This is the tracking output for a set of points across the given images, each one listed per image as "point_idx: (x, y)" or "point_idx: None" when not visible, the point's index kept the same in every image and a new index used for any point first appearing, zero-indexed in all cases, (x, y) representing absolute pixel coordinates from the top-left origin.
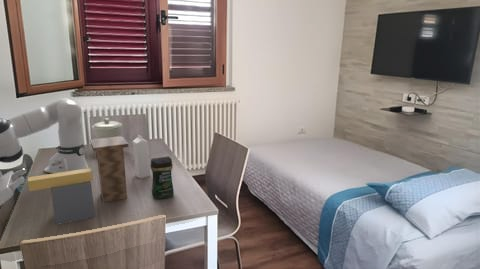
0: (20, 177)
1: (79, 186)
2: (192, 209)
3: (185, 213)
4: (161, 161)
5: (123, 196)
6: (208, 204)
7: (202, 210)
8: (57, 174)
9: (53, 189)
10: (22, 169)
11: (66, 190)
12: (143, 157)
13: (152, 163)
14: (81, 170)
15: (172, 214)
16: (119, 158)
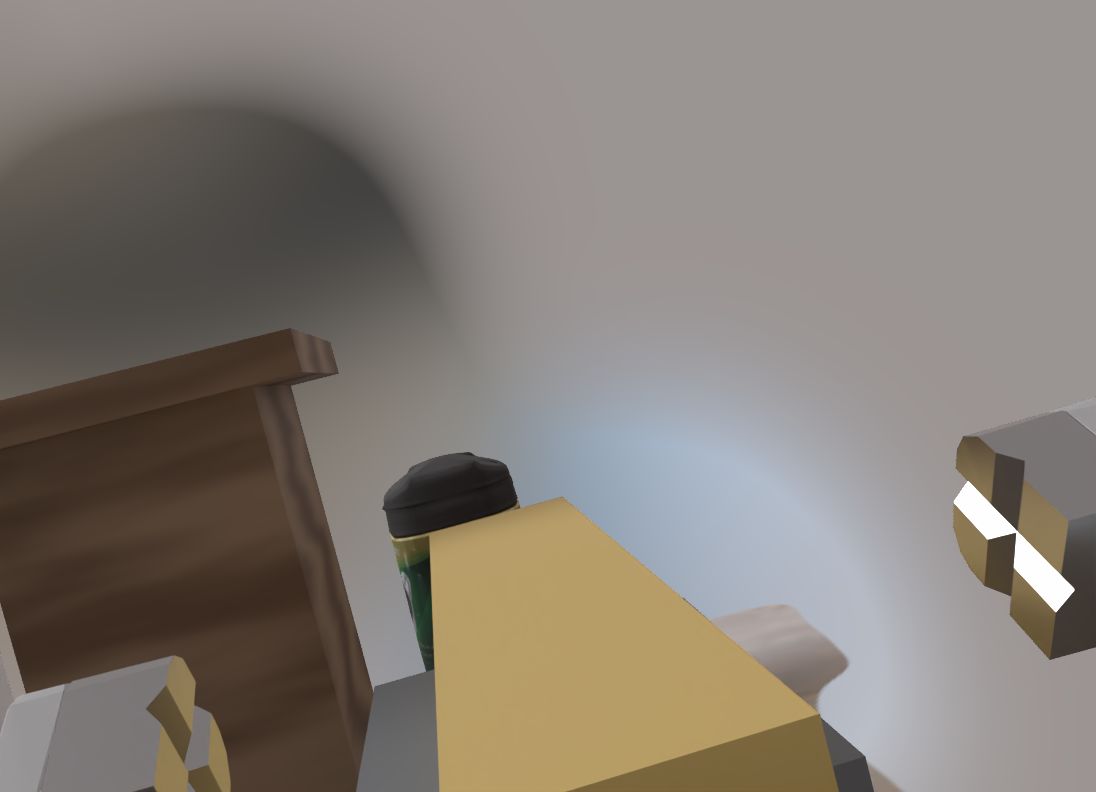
0: (1057, 431)
1: None
2: (771, 638)
3: (819, 644)
4: (484, 461)
5: None
6: (723, 617)
7: (792, 616)
8: (523, 594)
9: None
10: (159, 671)
11: None
12: (4, 719)
13: (467, 486)
14: (481, 536)
15: (824, 673)
16: (316, 505)
